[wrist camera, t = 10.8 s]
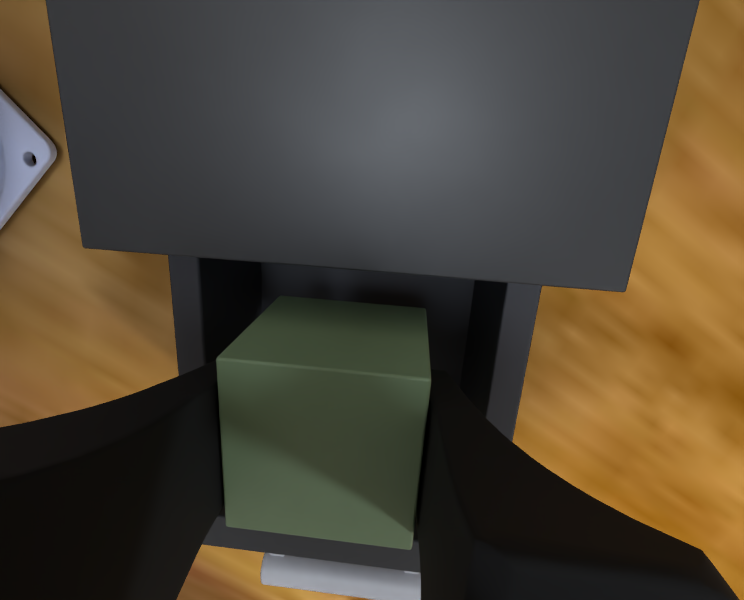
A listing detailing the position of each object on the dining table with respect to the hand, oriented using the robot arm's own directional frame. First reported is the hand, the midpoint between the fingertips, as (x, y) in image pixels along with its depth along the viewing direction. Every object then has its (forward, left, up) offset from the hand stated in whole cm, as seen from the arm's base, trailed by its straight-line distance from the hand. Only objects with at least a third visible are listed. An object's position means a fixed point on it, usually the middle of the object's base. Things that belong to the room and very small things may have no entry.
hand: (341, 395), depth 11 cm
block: (0, 0, -1) cm, 1 cm away
